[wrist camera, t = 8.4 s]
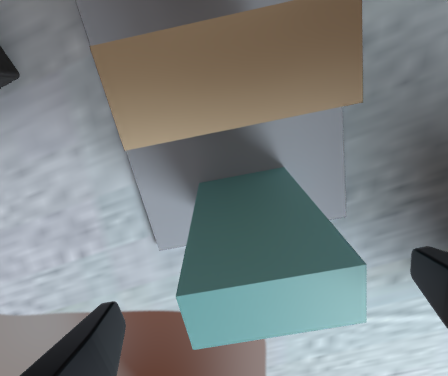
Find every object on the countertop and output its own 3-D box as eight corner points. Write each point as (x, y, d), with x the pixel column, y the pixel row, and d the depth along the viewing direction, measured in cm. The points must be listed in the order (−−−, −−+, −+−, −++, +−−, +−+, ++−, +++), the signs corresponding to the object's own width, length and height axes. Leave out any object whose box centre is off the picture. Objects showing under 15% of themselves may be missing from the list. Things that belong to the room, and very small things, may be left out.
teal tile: (199, 183, 15) (175, 296, 7) (283, 166, 15) (366, 264, 7) (206, 213, 16) (193, 350, 8) (287, 198, 16) (366, 322, 7)
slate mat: (342, 213, 17) (346, 216, 16) (161, 246, 17) (159, 250, 17) (315, -447, 8) (321, -479, 8) (-33, -340, 9) (-47, -363, 9)
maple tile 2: (274, 94, 14) (363, 102, 5) (181, 113, 14) (124, 151, 6) (268, 52, 13) (361, -15, 5) (171, 73, 13) (89, 46, 5)
